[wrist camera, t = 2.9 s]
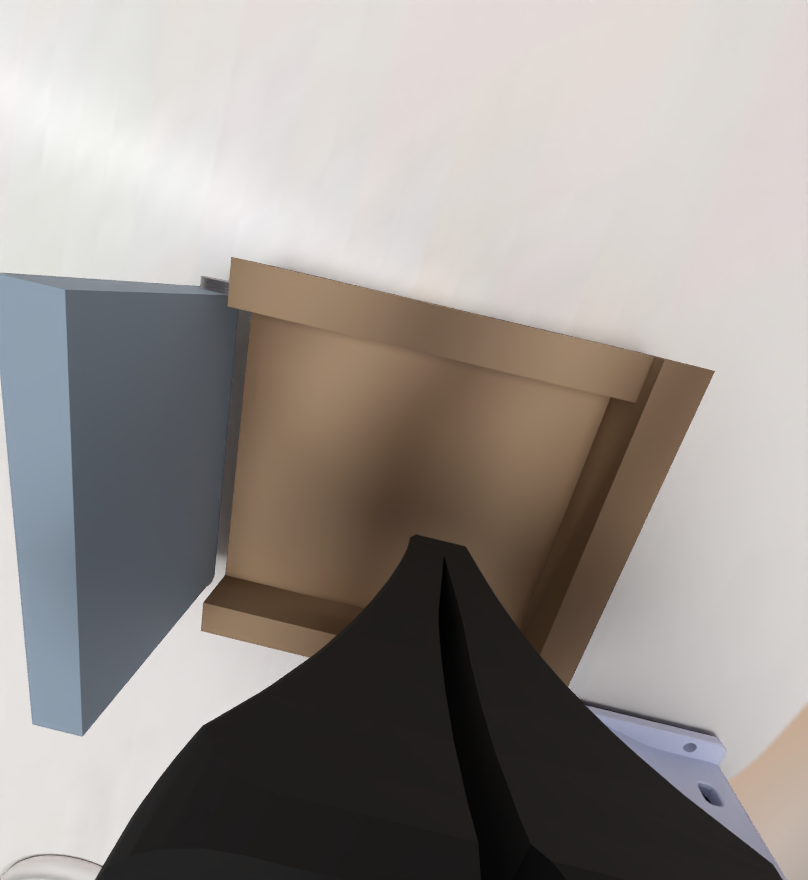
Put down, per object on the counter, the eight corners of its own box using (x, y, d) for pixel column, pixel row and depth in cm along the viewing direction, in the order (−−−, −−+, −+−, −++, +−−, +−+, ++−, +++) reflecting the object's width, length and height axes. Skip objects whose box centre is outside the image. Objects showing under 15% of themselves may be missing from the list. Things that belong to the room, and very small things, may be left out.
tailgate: (247, 285, 13) (64, 269, 6) (220, 575, 16) (82, 745, 10) (209, 276, 13) (-12, 251, 6) (189, 567, 16) (33, 733, 10)
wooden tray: (646, 354, 13) (714, 371, 10) (527, 646, 17) (548, 728, 14) (275, 266, 13) (221, 254, 10) (240, 576, 17) (193, 642, 14)
